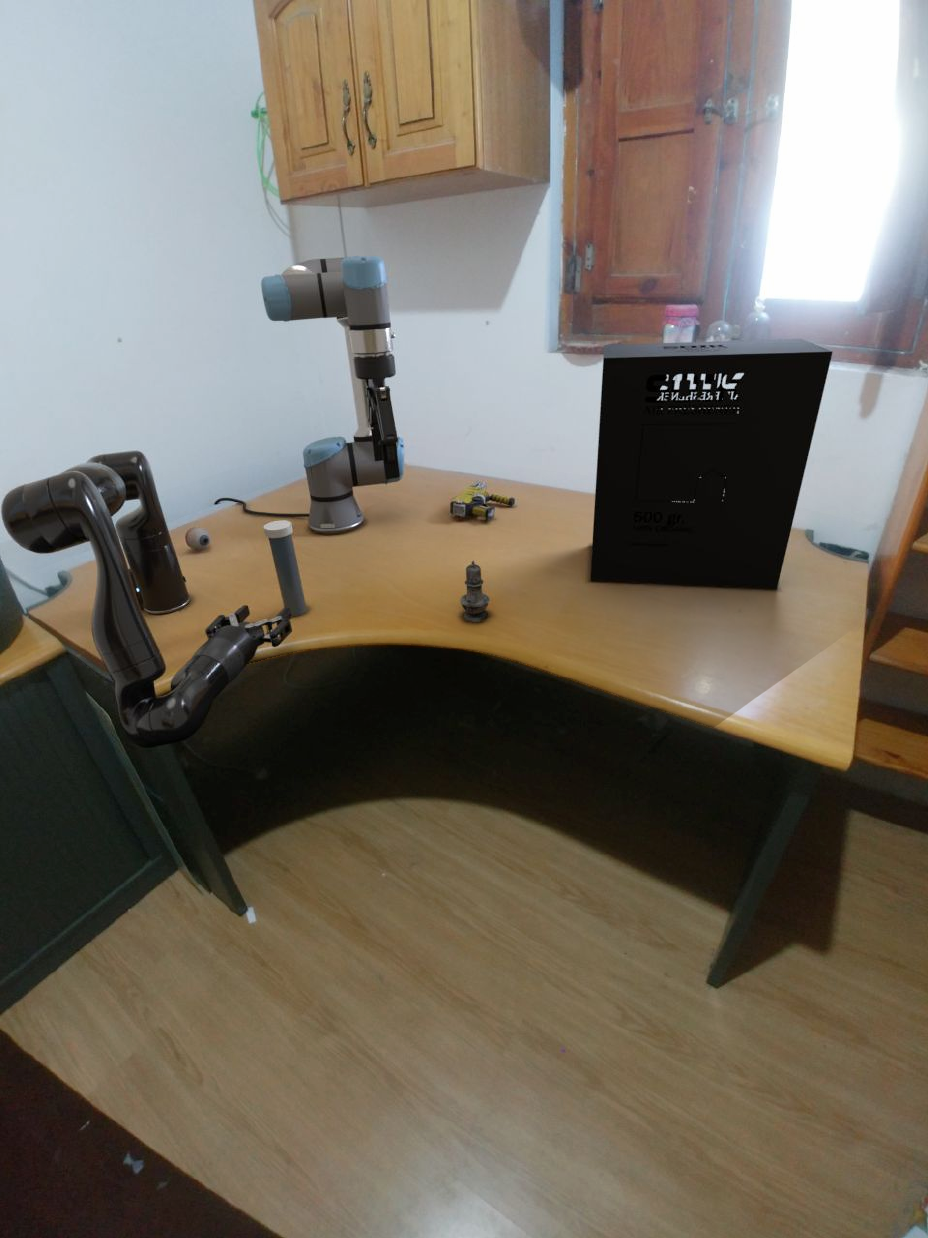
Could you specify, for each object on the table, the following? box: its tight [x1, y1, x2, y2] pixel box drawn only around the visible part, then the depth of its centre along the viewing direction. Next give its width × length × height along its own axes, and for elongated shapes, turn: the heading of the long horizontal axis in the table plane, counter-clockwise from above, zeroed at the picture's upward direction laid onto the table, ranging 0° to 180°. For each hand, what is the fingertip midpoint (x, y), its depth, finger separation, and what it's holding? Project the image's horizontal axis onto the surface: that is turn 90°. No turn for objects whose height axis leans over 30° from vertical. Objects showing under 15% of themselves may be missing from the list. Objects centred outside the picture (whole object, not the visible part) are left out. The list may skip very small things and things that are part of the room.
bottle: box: [267, 533, 308, 617], centre depth 122 cm, size 4×4×19 cm
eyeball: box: [184, 526, 211, 551], centre depth 157 cm, size 6×6×6 cm
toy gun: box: [449, 480, 516, 522], centre depth 174 cm, size 5×24×15 cm
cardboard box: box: [589, 338, 834, 590], centre depth 125 cm, size 38×20×45 cm, turn 78°
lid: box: [263, 519, 293, 539], centre depth 117 cm, size 5×5×2 cm
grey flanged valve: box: [459, 560, 491, 623], centre depth 118 cm, size 6×6×12 cm
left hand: (267, 610), depth 115 cm, fingers open, 8 cm apart
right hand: (386, 468), depth 121 cm, fingers open, 13 cm apart
